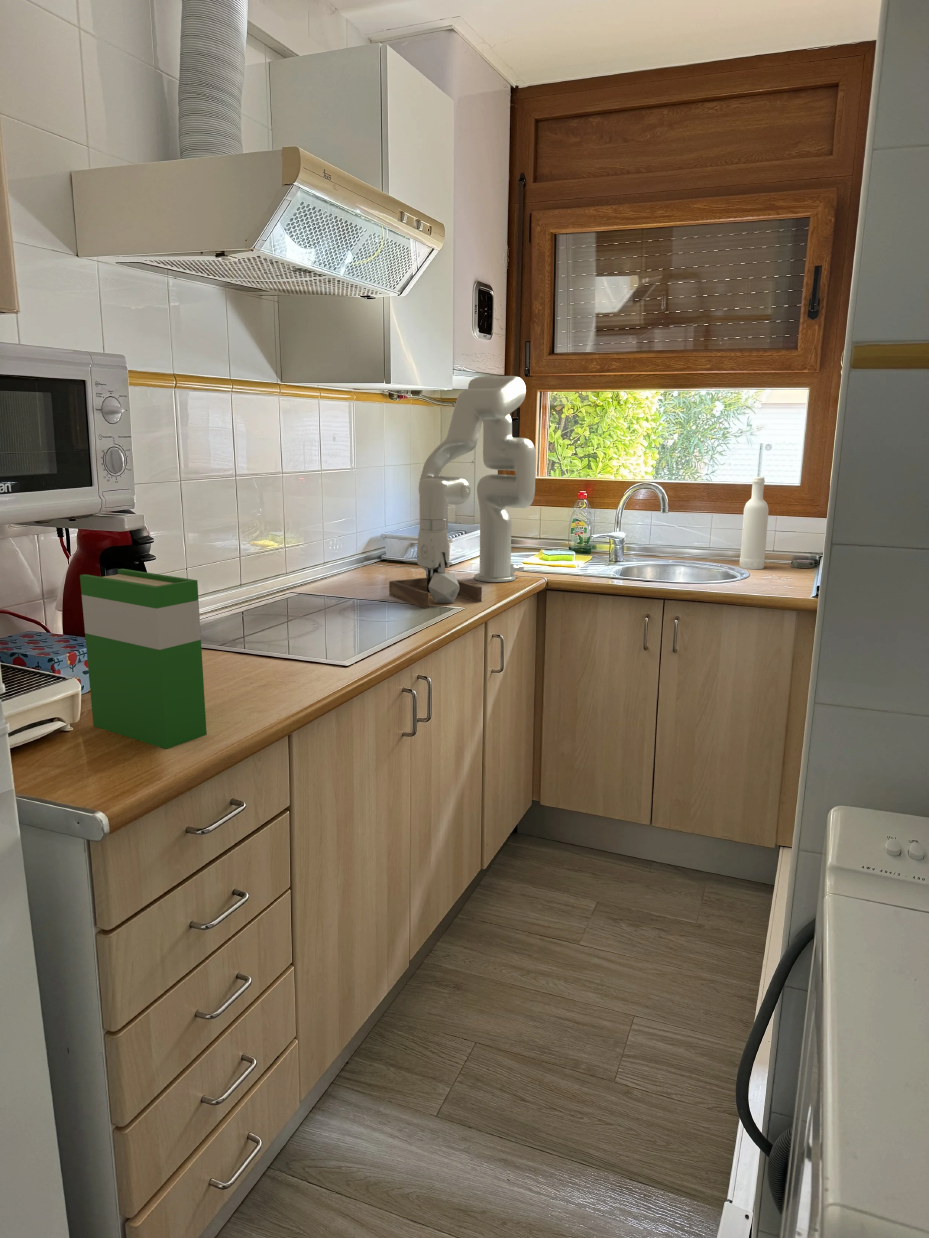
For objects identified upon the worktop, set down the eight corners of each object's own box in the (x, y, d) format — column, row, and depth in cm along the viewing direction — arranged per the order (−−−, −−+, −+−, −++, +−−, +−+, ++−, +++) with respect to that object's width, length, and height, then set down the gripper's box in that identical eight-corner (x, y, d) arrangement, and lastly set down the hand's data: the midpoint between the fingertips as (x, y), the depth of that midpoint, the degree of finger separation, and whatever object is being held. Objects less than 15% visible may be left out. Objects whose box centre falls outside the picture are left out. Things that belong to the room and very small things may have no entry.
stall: (443, 589, 251) (443, 575, 251) (481, 601, 235) (481, 587, 234) (389, 595, 243) (389, 581, 242) (424, 608, 226) (424, 593, 225)
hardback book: (93, 725, 138) (79, 575, 133) (133, 713, 144) (122, 568, 139) (166, 749, 128) (155, 587, 123) (206, 734, 134) (197, 580, 129)
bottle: (746, 565, 299) (753, 476, 292) (768, 567, 294) (775, 477, 287) (734, 567, 293) (741, 476, 287) (757, 570, 288) (764, 478, 282)
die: (448, 609, 229) (467, 578, 230) (420, 591, 229) (439, 561, 231) (448, 613, 237) (467, 583, 238) (421, 597, 237) (440, 567, 239)
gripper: (408, 523, 239) (408, 589, 243) (435, 529, 227) (435, 598, 231) (432, 521, 243) (432, 587, 247) (460, 527, 230) (459, 596, 234)
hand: (433, 592), depth 239 cm, fingers closed
